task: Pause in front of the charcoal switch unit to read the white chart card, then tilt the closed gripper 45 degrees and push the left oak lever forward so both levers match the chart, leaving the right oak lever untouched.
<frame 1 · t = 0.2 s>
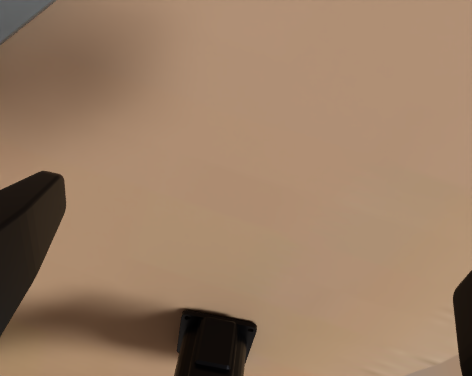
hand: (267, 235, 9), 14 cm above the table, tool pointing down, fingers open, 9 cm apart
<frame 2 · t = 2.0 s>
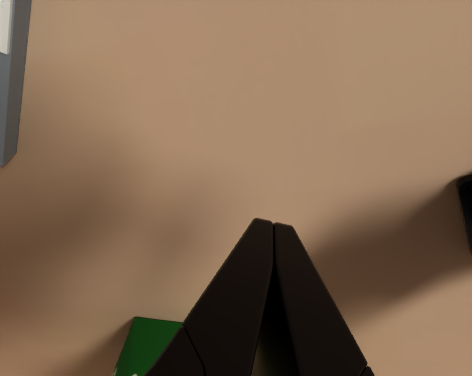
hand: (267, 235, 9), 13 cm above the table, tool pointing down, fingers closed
milk carton: (180, 342, 36), on the table
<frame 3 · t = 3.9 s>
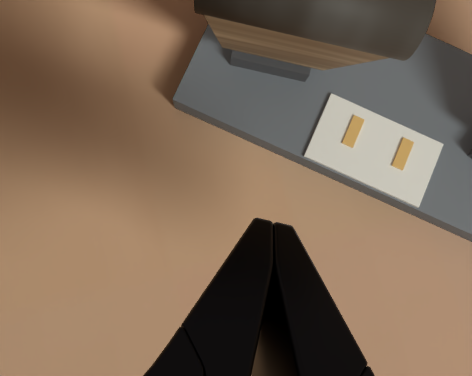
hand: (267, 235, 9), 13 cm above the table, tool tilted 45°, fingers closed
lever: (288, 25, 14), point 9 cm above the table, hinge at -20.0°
switch unit: (380, 114, 23), on the table
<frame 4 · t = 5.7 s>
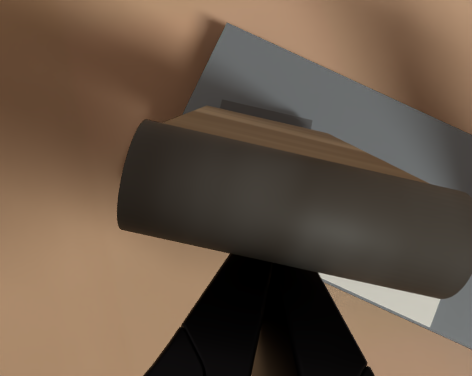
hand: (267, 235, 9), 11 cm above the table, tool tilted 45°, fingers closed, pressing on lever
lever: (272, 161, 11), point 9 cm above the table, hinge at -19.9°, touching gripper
switch unit: (383, 207, 20), on the table
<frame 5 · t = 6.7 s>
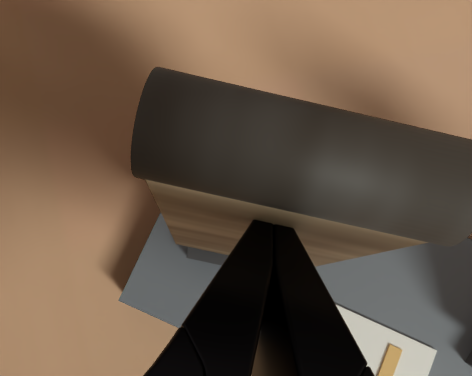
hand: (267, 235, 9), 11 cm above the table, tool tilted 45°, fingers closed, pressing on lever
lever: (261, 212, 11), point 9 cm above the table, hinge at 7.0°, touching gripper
switch unit: (363, 298, 20), on the table
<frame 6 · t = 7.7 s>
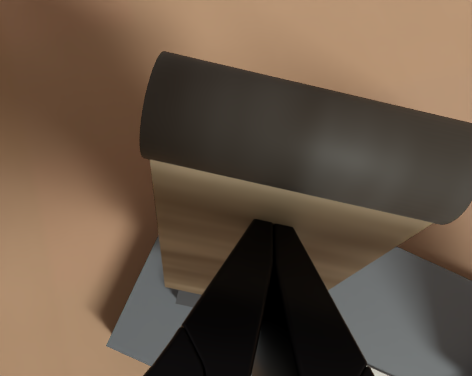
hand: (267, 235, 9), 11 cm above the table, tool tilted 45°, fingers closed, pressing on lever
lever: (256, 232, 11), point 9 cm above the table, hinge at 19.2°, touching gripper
switch unit: (359, 338, 20), on the table
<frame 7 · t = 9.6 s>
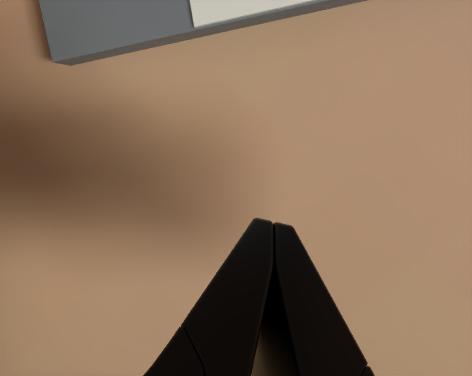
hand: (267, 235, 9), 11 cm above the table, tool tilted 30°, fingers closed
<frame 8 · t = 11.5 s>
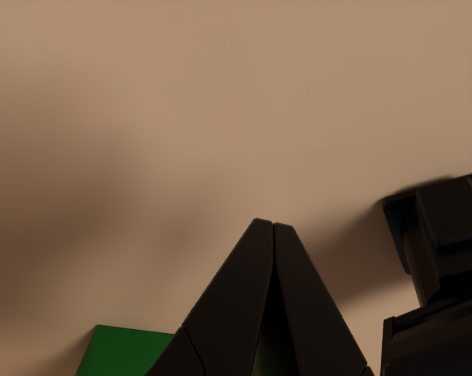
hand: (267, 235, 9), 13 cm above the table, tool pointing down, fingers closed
milk carton: (142, 349, 38), on the table
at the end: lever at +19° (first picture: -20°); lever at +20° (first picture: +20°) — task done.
